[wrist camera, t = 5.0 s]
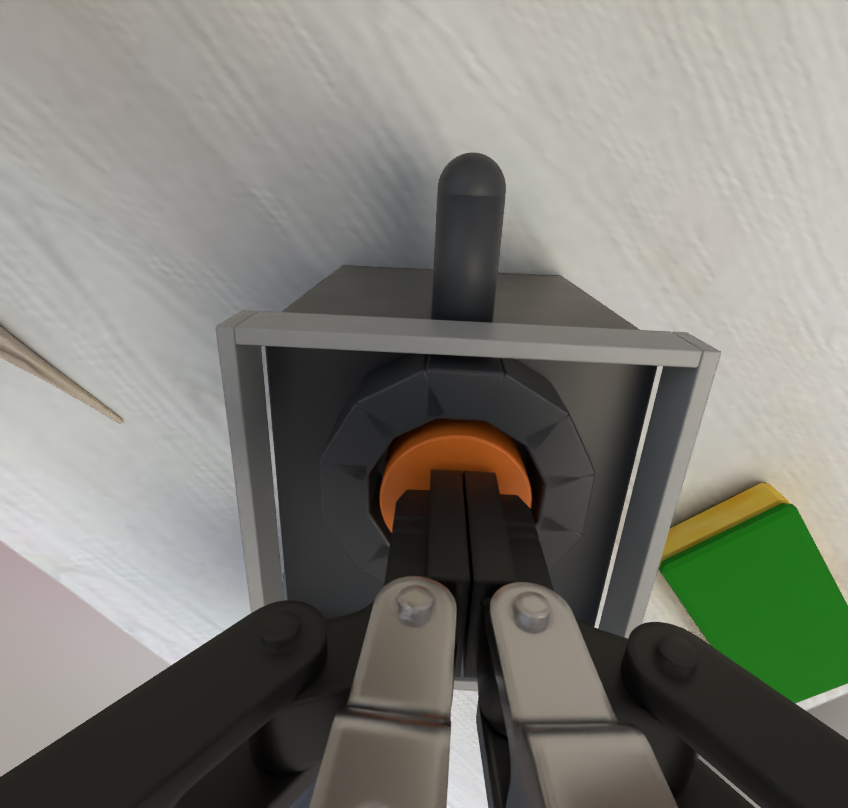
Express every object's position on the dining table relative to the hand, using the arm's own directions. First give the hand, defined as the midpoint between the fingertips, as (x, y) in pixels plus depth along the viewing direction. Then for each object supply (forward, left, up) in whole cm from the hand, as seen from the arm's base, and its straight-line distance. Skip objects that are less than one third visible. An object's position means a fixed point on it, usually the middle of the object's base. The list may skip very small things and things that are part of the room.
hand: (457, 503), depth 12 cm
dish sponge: (+19, -14, -13) cm, 27 cm away
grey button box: (0, -2, -13) cm, 13 cm away
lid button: (0, 0, -2) cm, 2 cm away
